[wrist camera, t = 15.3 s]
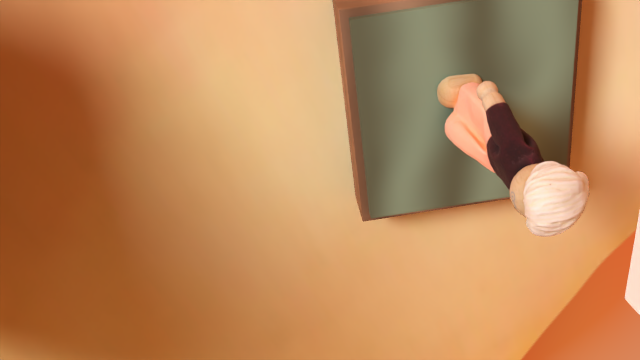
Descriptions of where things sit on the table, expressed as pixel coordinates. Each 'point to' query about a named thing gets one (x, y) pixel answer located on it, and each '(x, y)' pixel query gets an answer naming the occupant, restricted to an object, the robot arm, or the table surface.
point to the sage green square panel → (422, 101)
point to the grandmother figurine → (512, 155)
